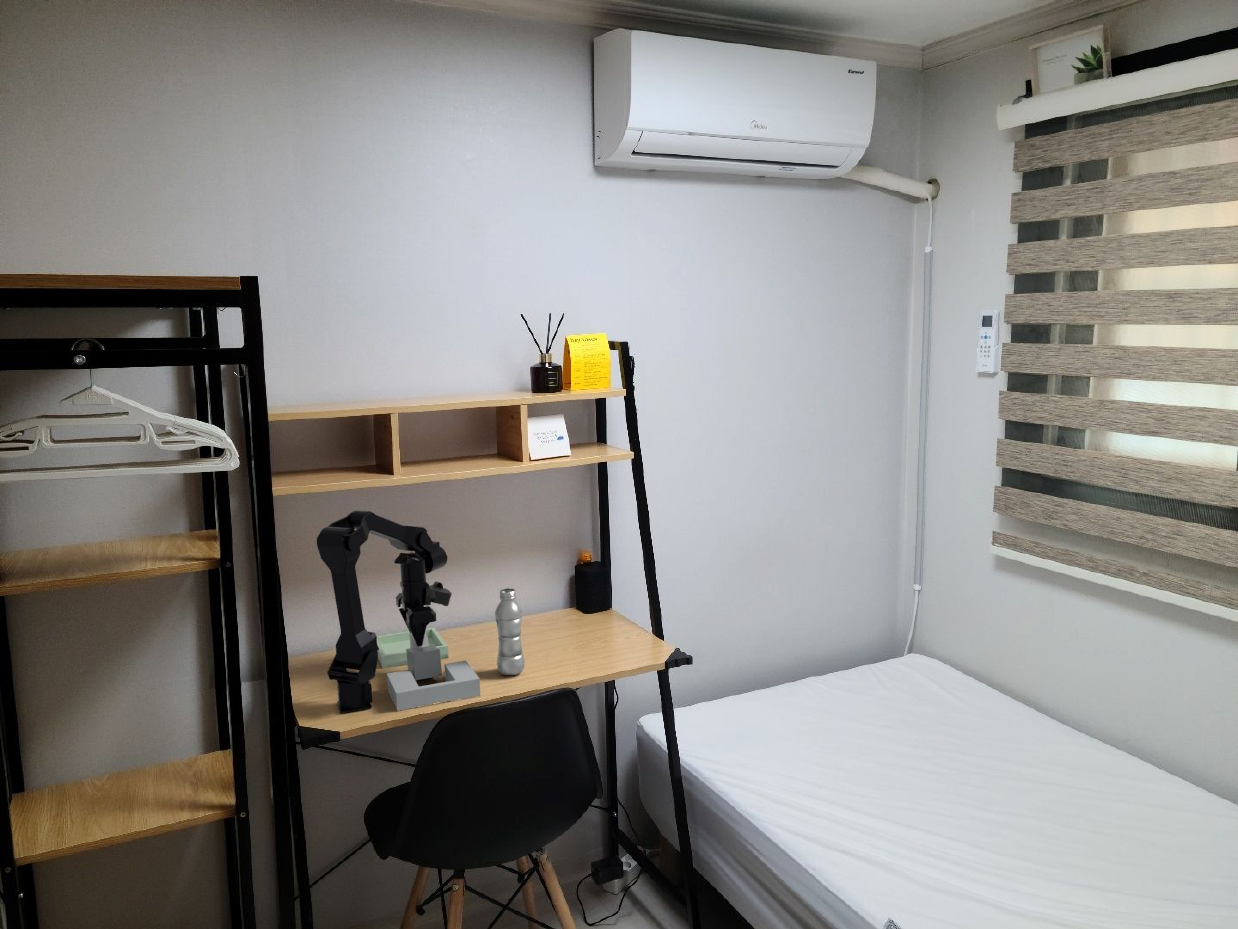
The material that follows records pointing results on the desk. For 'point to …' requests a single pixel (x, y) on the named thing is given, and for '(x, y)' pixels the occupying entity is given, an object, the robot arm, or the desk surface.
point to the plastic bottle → (509, 634)
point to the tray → (405, 647)
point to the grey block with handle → (423, 659)
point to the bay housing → (433, 687)
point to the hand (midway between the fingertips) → (417, 642)
